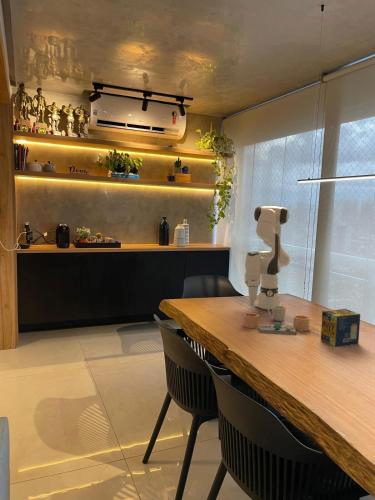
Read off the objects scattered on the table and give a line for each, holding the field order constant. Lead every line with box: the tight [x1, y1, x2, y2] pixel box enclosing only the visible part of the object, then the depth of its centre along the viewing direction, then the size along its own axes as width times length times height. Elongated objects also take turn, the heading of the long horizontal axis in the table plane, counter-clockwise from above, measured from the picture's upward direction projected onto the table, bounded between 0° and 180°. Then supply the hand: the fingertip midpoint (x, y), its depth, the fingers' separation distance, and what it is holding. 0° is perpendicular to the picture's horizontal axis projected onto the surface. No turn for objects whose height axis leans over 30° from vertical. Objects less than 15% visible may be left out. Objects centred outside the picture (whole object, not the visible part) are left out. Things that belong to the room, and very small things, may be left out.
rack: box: [258, 325, 297, 335], centre depth 204 cm, size 19×8×2 cm, turn 83°
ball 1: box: [247, 300, 256, 308], centre depth 211 cm, size 4×4×4 cm
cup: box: [267, 305, 287, 322], centre depth 226 cm, size 11×8×8 cm
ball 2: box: [273, 321, 282, 330], centre depth 204 cm, size 4×4×4 cm
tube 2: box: [292, 314, 311, 332], centre depth 209 cm, size 9×9×7 cm
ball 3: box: [284, 322, 293, 330], centre depth 203 cm, size 4×4×4 cm
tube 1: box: [242, 312, 260, 329], centre depth 213 cm, size 9×9×7 cm
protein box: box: [320, 308, 361, 348], centre depth 188 cm, size 10×15×16 cm
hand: (251, 304), depth 211 cm, fingers closed on ball 1, 4 cm apart
